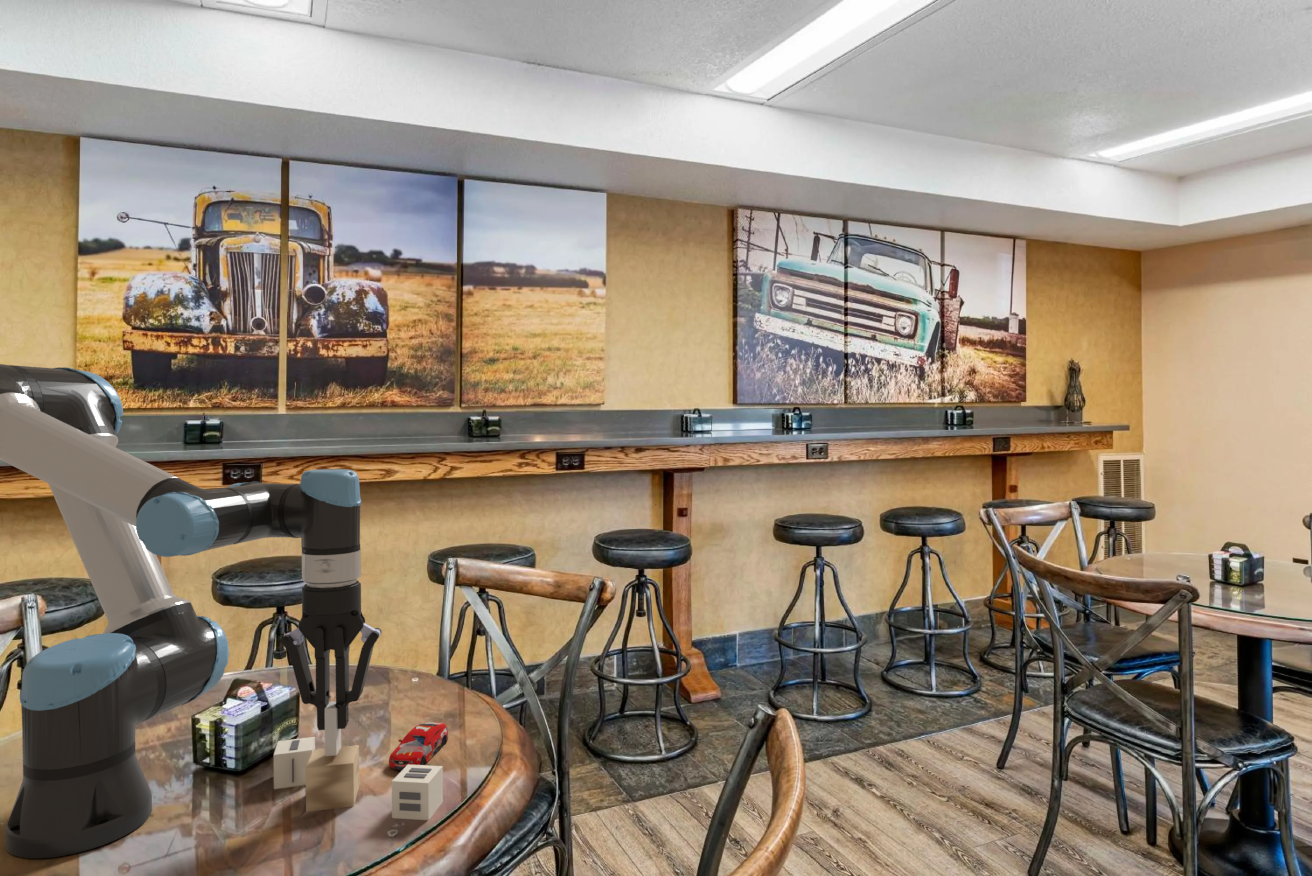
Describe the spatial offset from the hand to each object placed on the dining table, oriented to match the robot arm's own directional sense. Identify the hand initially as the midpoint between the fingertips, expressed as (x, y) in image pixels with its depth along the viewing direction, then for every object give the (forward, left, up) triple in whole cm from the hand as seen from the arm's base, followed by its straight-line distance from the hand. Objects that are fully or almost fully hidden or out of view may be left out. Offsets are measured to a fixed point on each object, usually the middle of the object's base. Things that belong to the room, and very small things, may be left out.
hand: (333, 751), depth 108 cm
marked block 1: (-7, +7, -7) cm, 12 cm away
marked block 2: (+12, -5, -7) cm, 15 cm away
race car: (+10, +13, -7) cm, 18 cm away
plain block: (0, 0, -7) cm, 7 cm away
